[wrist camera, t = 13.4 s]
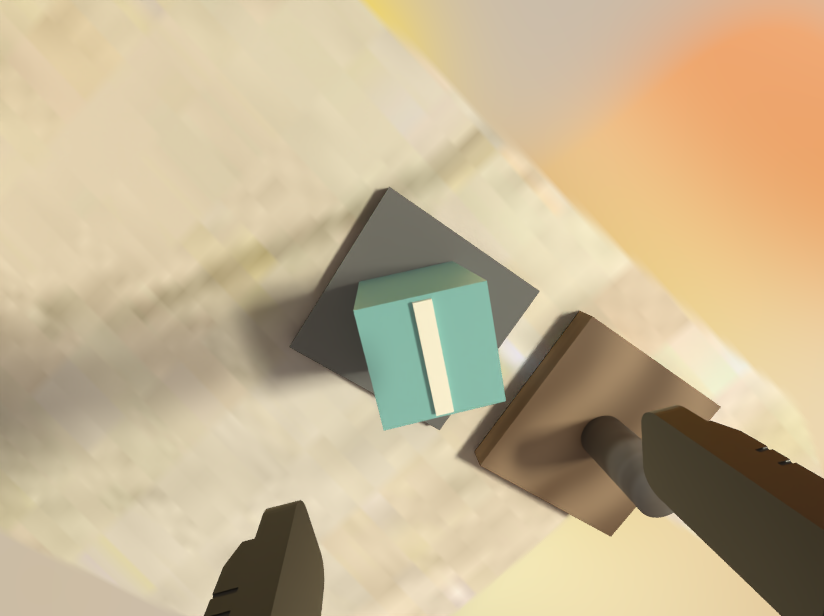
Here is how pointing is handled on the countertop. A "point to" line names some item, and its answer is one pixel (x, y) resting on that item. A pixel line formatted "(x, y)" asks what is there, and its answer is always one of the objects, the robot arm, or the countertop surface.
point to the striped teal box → (429, 343)
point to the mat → (389, 254)
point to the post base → (587, 426)
